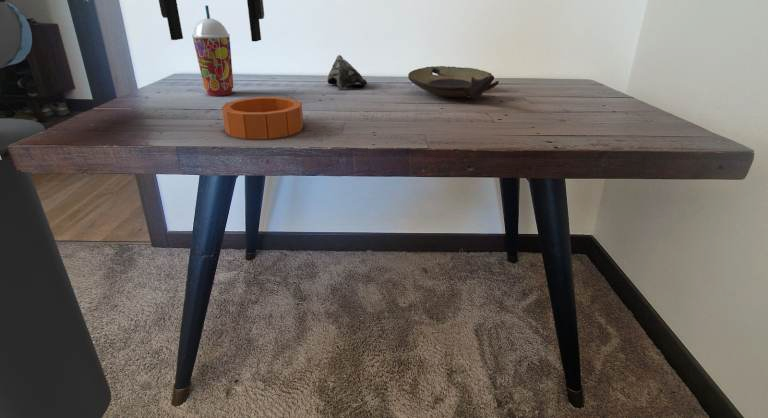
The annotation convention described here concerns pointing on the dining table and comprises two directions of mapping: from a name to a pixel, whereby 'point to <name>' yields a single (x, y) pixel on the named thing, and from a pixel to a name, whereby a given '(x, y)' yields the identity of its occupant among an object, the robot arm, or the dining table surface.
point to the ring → (263, 117)
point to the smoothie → (214, 56)
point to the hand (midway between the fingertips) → (216, 40)
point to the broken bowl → (453, 81)
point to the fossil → (344, 74)
